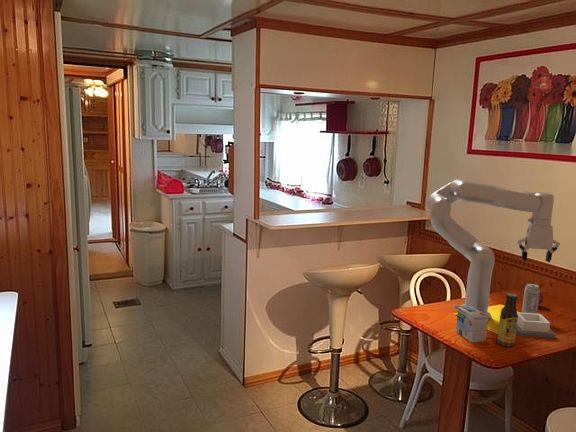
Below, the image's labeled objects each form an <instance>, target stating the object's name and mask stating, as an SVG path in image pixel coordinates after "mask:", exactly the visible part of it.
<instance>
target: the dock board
mask: <svg viewBox="0 0 576 432" xmlns="http://www.w3.org/2000/svg"><path fill="white" fill-rule="evenodd" d="M517 315H518V321H517V328H516V335H518V336H519V337H530V338H531V337H532V338H545V339H556V338H557V337H556V336H557V334H556V333H555V332H554V331H553V330H552V329H551V328H550V326H551V322H550V321H549V320H548V319H546V318H545V317H544V315H543V314H541V313H537V314H535V313H522V312H518V311H517Z"/></svg>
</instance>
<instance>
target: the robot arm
mask: <svg viewBox="0 0 576 432" xmlns="http://www.w3.org/2000/svg"><path fill="white" fill-rule="evenodd" d="M456 201H461V202H467V203H472V204H473V203H474V204H475V203H476V204H480V205H486V206H492V207H497V208H504V209H508V210H514V211H520V212H527V213H531V218H528V219H527V222H529V224H528V227H527V229H526V234H525V237H523V238H521V239H517V240H516V242H517V243H516V244H517V246H518V248H520V250H521V259H522V260H523V262H527V259H528V252H527V251H529V249H534V250H535V249H537V250H547V251H546V255H545V262H547V263H551V261H552V257H553V254H554V252H555V251H557V250H558V248H559V247H560V245H561V243H560V242H558V241H556V240H555V239H554V229H553V228H554V226H553V225H551V224H552V215H553V211H554V209H553V208H554V201H555V196H554V194H553V193H550V192H531V191H525V190H520V191H515V190H511V189H508V188H507V189H506V188H504V187H501V186H497V185H493V184H485V183H480V182H479V183H478V182H473V181H468V180H464V179H462V178H461V179H460V178H459V179H458V178H457V179H454V180H453V181H451V182H449V183H448V184H446V185H444V186H442V187H441V188H440V189H438V190H436V191H434V192H433V193H431V194H430V195H429V196H428V197H427V200H426V207H427V209H428V210H429V211H430V217H429V218H430V223H431V226H432V228H433V230H435V231H436V233H438V235H440V236H441V237H442V238H443V239H444V240H445V241H447V242H448V244H449V245H450V246H451V247H452V248H454V249H455V250H456V251H458V252H459V253H460V254H461V255H462V256H463V257H464V258H466V259H467V260H468V261H469V262H470V266H469V268H468V271H467V272H468V273H467V281H466V290H465V291H466V293H465V302H462V303H461V304H453V309H454V310H458V307H467V306H473V307H474V308H476V309H478V310H480V311H481V312H483V313H485V314H487V315H488V320H490V319H491V317H492V315H491V312H489V303H490V301H489V300H490V292H491V282H492V273H493V270H494V266H495V258H496V257H495V254H494V252H493V250H492V249H491V248H490V247H488V246H487V245H486V244H484V243H483V242H481V240H479V239H477V237H475V236H474V235H473V234H472V233H471V232H470V231H469V230H468V229H466V228H465V227H463V226H461V225H460V224H459V223H458V222H457V221H455V220H454V219H453V217H452V216H451V210H452V204H453V203H455V202H456ZM523 243H524V245H523Z"/></svg>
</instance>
